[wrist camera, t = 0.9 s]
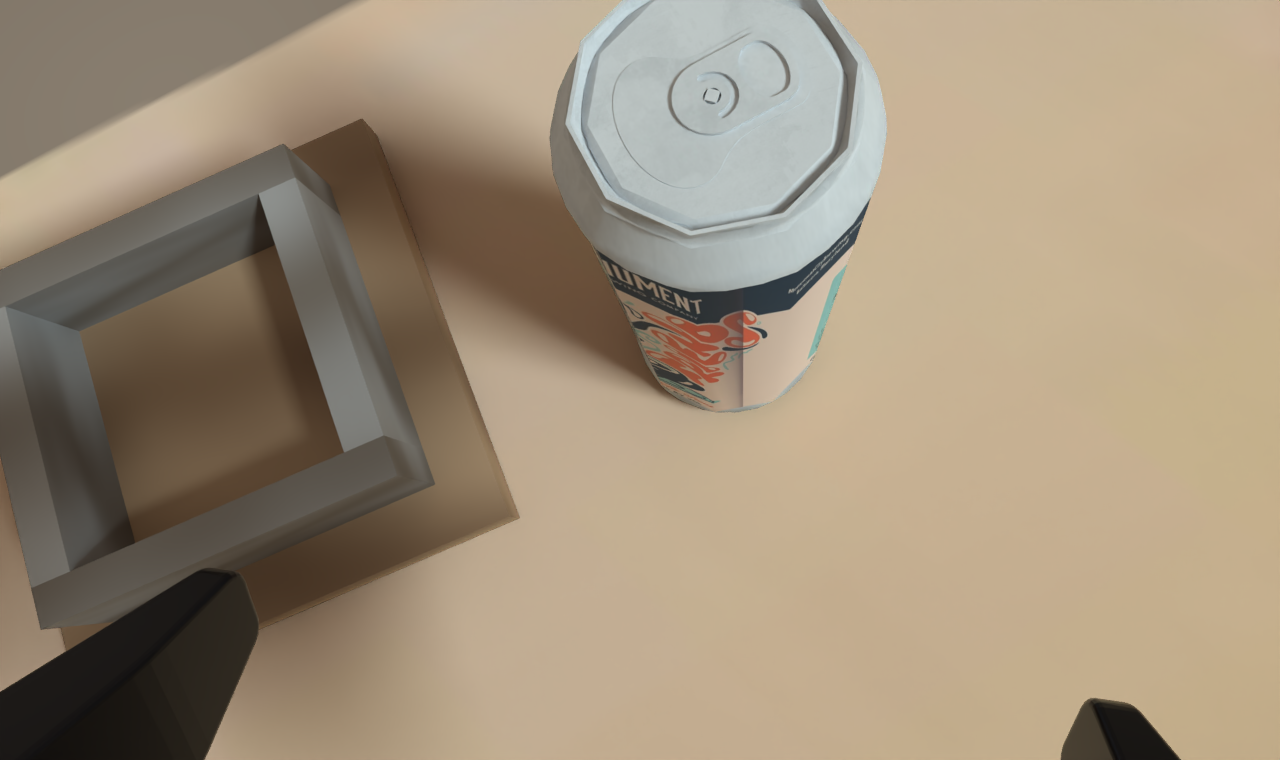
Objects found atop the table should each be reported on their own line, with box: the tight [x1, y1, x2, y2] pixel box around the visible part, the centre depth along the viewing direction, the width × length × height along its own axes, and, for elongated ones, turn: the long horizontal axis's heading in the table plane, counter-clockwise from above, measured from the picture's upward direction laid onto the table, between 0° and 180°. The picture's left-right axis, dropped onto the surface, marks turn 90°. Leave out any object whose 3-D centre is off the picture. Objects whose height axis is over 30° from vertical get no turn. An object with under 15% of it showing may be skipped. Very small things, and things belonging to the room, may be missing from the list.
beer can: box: [550, 0, 887, 412], centre depth 17 cm, size 5×5×12 cm
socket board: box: [0, 119, 520, 651], centre depth 23 cm, size 12×12×4 cm
